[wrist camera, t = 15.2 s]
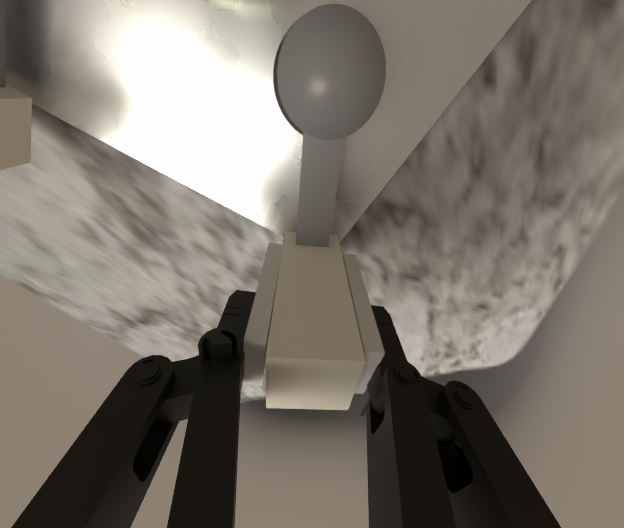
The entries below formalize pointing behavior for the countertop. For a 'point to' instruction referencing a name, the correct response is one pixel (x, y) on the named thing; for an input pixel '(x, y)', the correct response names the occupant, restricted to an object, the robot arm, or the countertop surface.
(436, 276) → the countertop surface
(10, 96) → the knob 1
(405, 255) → the countertop surface
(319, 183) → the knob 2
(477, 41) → the level plate
